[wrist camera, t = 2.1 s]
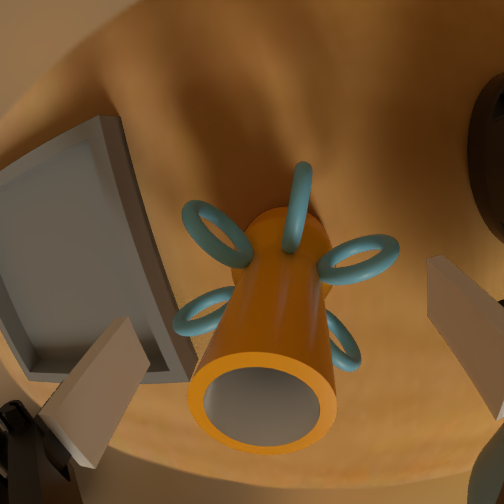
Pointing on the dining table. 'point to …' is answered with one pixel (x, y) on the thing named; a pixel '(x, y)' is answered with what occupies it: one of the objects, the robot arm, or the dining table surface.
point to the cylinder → (273, 324)
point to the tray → (82, 257)
